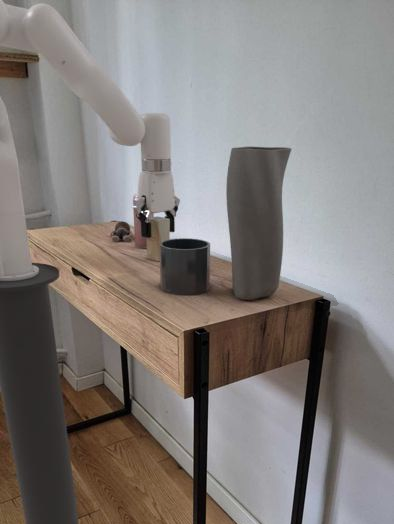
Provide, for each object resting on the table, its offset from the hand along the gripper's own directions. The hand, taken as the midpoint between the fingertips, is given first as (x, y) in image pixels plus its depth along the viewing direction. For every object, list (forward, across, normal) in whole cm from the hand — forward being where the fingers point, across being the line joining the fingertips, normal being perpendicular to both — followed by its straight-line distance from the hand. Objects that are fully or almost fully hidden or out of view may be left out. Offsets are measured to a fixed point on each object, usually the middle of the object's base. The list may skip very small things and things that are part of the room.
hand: (158, 234), depth 131 cm
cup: (+7, +15, +22) cm, 27 cm away
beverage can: (+7, -8, -13) cm, 17 cm away
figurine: (+7, -11, -26) cm, 29 cm away
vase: (+7, +10, +37) cm, 39 cm away
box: (+7, 0, 0) cm, 7 cm away
